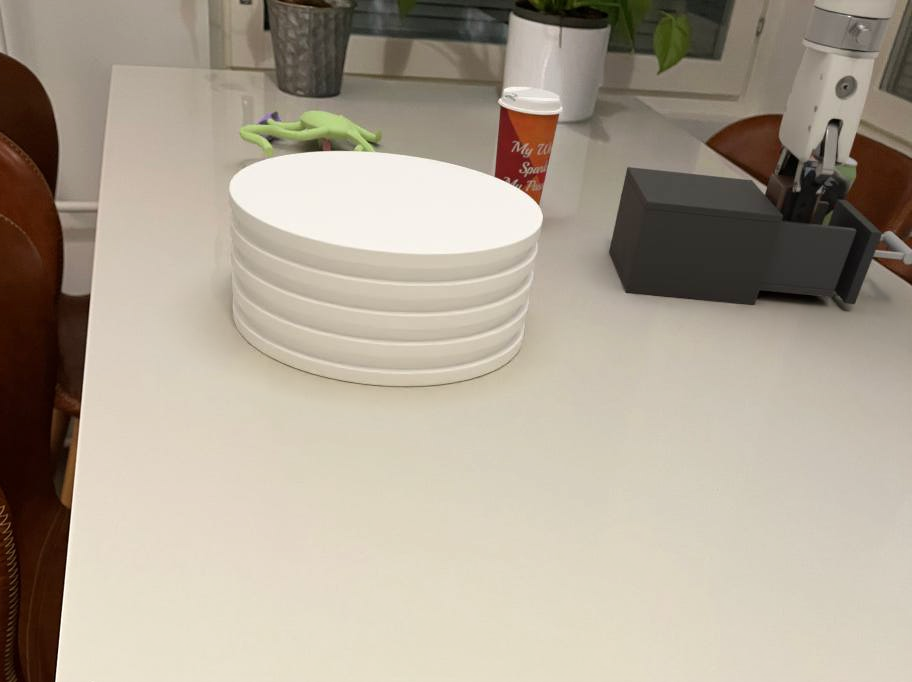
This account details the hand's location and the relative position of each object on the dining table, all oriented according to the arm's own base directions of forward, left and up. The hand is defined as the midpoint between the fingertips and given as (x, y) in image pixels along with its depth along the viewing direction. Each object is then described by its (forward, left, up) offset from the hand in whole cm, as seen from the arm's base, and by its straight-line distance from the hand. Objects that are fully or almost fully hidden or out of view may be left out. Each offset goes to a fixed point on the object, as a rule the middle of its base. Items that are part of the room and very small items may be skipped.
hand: (784, 221), depth 109 cm
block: (0, 0, 0) cm, 0 cm away
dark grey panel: (-5, 0, -6) cm, 8 cm away
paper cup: (+28, -16, -7) cm, 33 cm away
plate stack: (+44, +20, -7) cm, 49 cm away
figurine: (+54, -32, -8) cm, 63 cm away
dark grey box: (+10, 0, -7) cm, 12 cm away
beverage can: (-8, -13, -8) cm, 17 cm away
